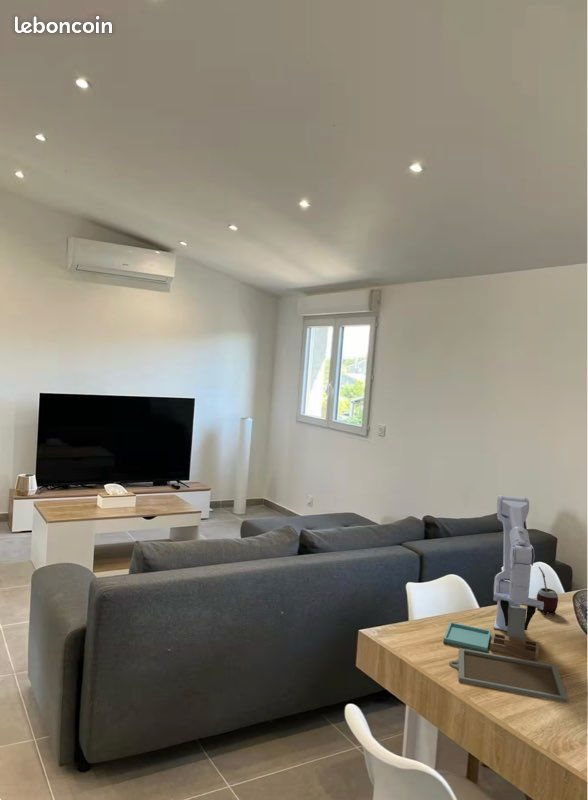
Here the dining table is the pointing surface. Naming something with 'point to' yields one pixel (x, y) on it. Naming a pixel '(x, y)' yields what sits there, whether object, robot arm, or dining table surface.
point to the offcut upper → (515, 642)
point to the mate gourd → (547, 598)
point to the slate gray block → (516, 622)
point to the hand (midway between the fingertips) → (516, 627)
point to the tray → (467, 637)
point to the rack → (529, 652)
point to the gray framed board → (510, 674)
